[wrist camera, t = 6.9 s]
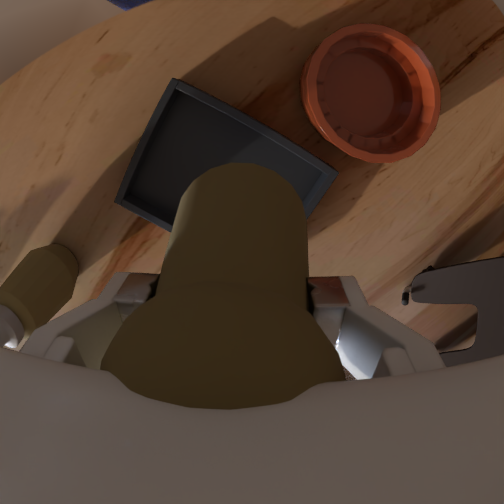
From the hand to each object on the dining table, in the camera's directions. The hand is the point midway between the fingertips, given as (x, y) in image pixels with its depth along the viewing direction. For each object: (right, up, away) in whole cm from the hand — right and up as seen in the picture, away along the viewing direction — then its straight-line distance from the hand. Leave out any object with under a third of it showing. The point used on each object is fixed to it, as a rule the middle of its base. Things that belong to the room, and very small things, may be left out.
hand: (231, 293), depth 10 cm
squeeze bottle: (-25, 0, +26) cm, 36 cm away
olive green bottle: (0, +2, +5) cm, 6 cm away
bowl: (+11, +17, +17) cm, 26 cm away
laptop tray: (+32, -6, +28) cm, 43 cm away
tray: (-2, +9, +21) cm, 23 cm away
